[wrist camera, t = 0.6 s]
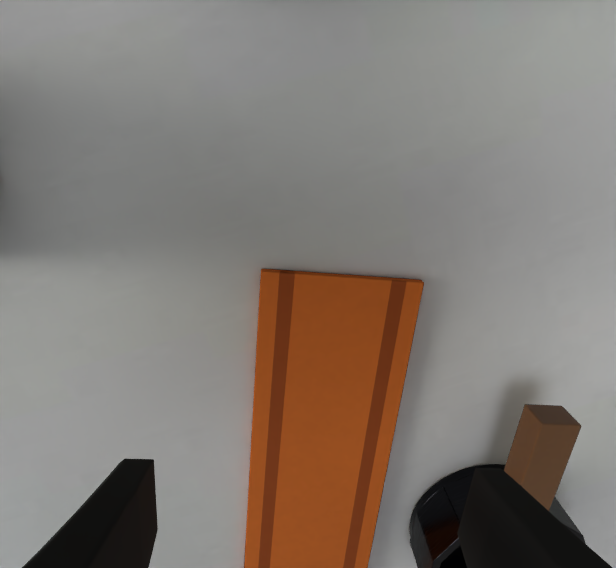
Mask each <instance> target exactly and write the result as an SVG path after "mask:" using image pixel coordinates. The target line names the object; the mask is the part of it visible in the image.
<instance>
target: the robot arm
mask: <svg viewBox="0 0 616 568" xmlns="http://www.w3.org/2000/svg"><path fill="white" fill-rule="evenodd" d="M157 530H158V529H157V511H156V493H155V475H154V460H152V459H124V460H123V461H121V462H120V463H119V464H118V465H117V467H116V468H115V469H114V470H113V471H112V472H111V473H110V475H109V476H108V477H107V478H106V479H105V480H104V481H103V483H102V484H101V485H100V486H99V487H98V488H97V489H96V490H95V492H94V493H93V494H92V495H91V496H90V497H89V498H88V499H87V500H86V502H85V503H84V504H83V505H82V506H81V507H80V508H79V509H78V510H77V511H76V513H75V514H74V515H73V516H72V517H71V518H70V519H69V520H68V521H67V522H66V523H65V524H64V525H63V526H62V527H61V528H60V529H59V530H58V532H57V533H56V534H55V535H54V536H53V537H52V538H51V539H50V540H49V541H48V542H47V543H46V544H45V545H44V546H43V547H42V548H41V549H40V550H39V551H38V552H37V553H36V554H35V555H34V556H33V557H32V558H31V559H30V560H29V561H28V562H27V563H26V564H25V565H24V566H23V567H22V568H148V567H149V563H150V559H151V555H152V551H153V546H154V542H155V538H156V534H157ZM457 535H458V538H459V542H460V545H461V549H462V552H463V556H464V559H465V563H466V566H467V568H612V567H611V566H610V565H609V564H608V563H606V562H605V561H604V560H603V559H602V558H601V557H599V556H598V555H597V554H596V553H595V552H594V551H593V550H591V549H590V548H589V547H588V546H587V545H586V544H585V543H584V542H582V541H581V540H580V539H579V538H578V537H577V536H576V535H575V534H573V533H572V532H571V531H570V530H569V529H568V528H567V527H566V526H565V525H563V524H562V523H561V522H560V521H559V520H558V519H557V518H556V517H555V516H554V515H552V514H551V513H550V512H549V511H548V510H547V509H546V508H545V507H544V506H543V505H541V504H540V503H539V502H538V501H537V500H536V499H535V498H534V497H533V496H532V495H531V494H529V493H528V492H527V491H526V490H525V489H524V488H523V487H522V486H521V485H520V484H518V483H517V482H516V481H515V480H514V479H513V478H512V477H511V476H509V475H508V474H507V473H506V472H505V471H504V470H502V469H501V468H475V471H474V475H473V478H472V482H471V485H470V489H469V493H468V496H467V500H466V504H465V507H464V511H463V514H462V518H461V522H460V525H459V529H458V532H457Z"/></svg>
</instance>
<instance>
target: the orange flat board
mask: <svg viewBox="0 0 616 568" xmlns="http://www.w3.org/2000/svg"><path fill="white" fill-rule="evenodd" d="M423 285H424V282H423V281H422V280H416V279H402V278H387V277H373V276H359V275H344V274H330V273H316V272H302V271H288V270H273V269H261V279H260V296H259V314H258V332H257V350H256V368H255V386H254V403H253V421H252V439H251V457H250V475H249V492H248V510H247V528H246V546H245V564H244V568H367V567H368V562H369V557H370V552H371V547H372V542H373V537H374V532H375V527H376V522H377V517H378V512H379V507H380V502H381V497H382V492H383V487H384V482H385V477H386V472H387V467H388V461H389V456H390V451H391V446H392V441H393V436H394V431H395V426H396V421H397V416H398V411H399V406H400V401H401V396H402V391H403V386H404V381H405V376H406V371H407V366H408V361H409V356H410V351H411V346H412V341H413V335H414V330H415V325H416V320H417V315H418V310H419V305H420V300H421V295H422V290H423Z"/></svg>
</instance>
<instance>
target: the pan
mask: <svg viewBox="0 0 616 568" xmlns="http://www.w3.org/2000/svg"><path fill="white" fill-rule="evenodd" d="M580 429H581V425H580V424H579V423H578V422H577V421H576V420H575V419H574V418H573V417H572V416H571V415H570V414H569V413H568V412H567V411H566V409H565V408H564V407H562V406H553V405H531V404H525V406H524V409H523V412H522V415H521V418H520V421H519V424H518V427H517V431H516V434H515V437H514V440H513V443H512V446H511V449H510V452H509V456H508V459H507V462H506V465H499V464H488V465H479V466H474V467H470V468H466V469H463V470H460V471H457V472H455V473H453V474H451V475H449V476H447V477H445V478H443V479H442V480H440V481H439V482H437V483H436V484H435V485H433V486H432V487H431V488H430V489H429V490H428V491H427V492H426V493H425V494H424V495H423V496H422V497H421V499H420V500H419V501H418V503H417V504H416V506H415V508H414V510H413V513H412V516H411V520H410V536H411V538H410V543H411V546H412V550H413V553H414V556H415V560H416V563H417V566H418V568H467V566H466V563H465V559H464V556H463V552H462V549H461V545H460V542H459V538H458V535H457V532H458V529H459V525H460V522H461V518H462V514H463V511H464V507H465V504H466V500H467V496H468V493H469V489H470V485H471V482H472V478H473V475H474V471H475V468H501V469H502V470H504V471H505V472H506V473H507V474H508V475H509V476H511V477H512V478H513V479H514V480H515V481H516V482H517V483H518V484H520V485H521V486H522V487H523V488H524V489H525V490H526V491H527V492H528V493H529V494H531V495H532V496H533V497H534V498H535V499H536V500H537V501H538V502H539V503H540V504H541V505H543V506H544V507H545V508H546V509H547V510H548V511H549V512H550V513H551V514H552V515H554V516H555V517H556V518H557V519H558V520H559V521H560V522H561V523H562V524H563V525H565V526H566V527H567V528H568V529H569V530H570V531H571V532H572V533H573V534H575V535H576V536H577V537H578V538H579V539H580V540H581V541H582V542H584V543H585V540H584V537H583V535H582V534H581V532H580V531H579V530H578V528H577V527H576V525H575V524H574V523H573V521H572V520H571V519H570V517H569V516H568V514H567V513H566V512H565V510H564V509H563V508H562V506H561V505H560V503H559V502H558V501H557V499H556V498H555V494H556V492H557V489H558V486H559V484H560V481H561V478H562V476H563V473H564V471H565V468H566V465H567V463H568V460H569V458H570V455H571V452H572V450H573V447H574V444H575V442H576V439H577V437H578V434H579V431H580Z"/></svg>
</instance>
